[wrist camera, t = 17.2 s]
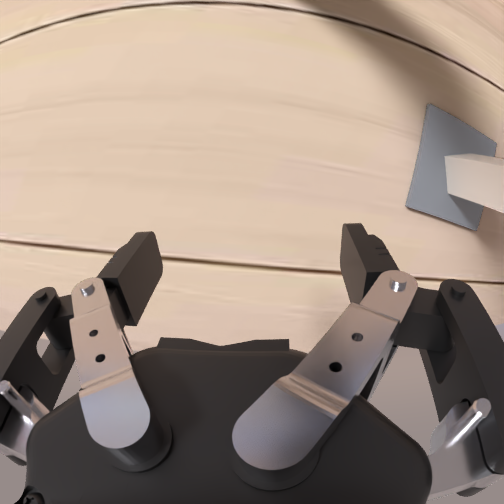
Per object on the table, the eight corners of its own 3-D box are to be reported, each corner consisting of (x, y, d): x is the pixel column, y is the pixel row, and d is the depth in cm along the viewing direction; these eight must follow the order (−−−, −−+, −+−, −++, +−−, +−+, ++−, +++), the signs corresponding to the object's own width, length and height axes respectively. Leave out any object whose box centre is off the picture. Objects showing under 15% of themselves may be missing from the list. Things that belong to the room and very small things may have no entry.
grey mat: (427, 104, 30) (430, 103, 29) (493, 142, 31) (496, 143, 31) (405, 205, 34) (408, 207, 34) (473, 229, 36) (476, 231, 35)
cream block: (444, 156, 31) (508, 167, 20) (469, 153, 31) (531, 164, 20) (447, 193, 33) (509, 215, 22) (472, 188, 33) (532, 208, 22)
